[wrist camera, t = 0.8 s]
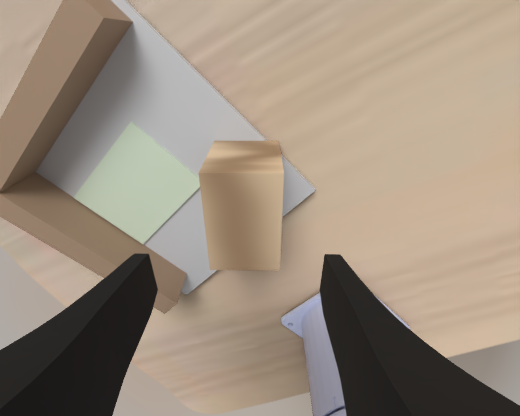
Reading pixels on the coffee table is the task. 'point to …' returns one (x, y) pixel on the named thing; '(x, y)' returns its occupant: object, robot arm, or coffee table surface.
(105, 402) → the robot arm
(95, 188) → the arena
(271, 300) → the coffee table surface
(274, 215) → the oak block
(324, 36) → the coffee table surface
